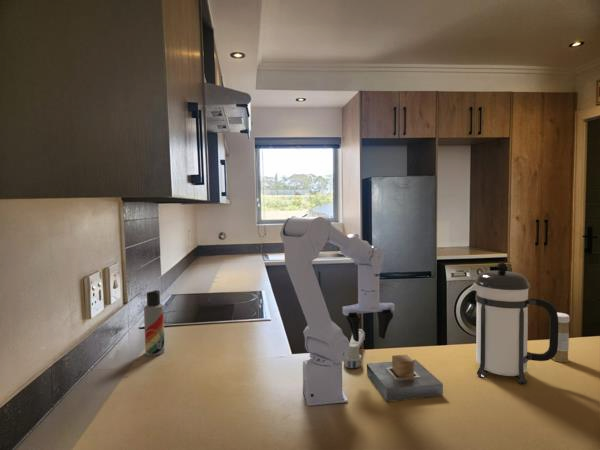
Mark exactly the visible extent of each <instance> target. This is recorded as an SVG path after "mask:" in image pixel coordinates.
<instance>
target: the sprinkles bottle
mask: <svg viewBox="0 0 600 450" xmlns="http://www.w3.org/2000/svg"><path fill="white" fill-rule="evenodd" d="M556 312H557V311H556ZM557 315H558V349H557V353H556V355H555V356H554V357H553V358H552V359H551V360H552V361H555V362H558V363H559V362H560V363H568V362H569V345H570V344H569V343H570V342H569V341H570V332H569V329H570V328H569V327H570V325H569V324H570V321H571V320H570V315H569V314H567V313H564V312H557Z"/></svg>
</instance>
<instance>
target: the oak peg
mask: <svg viewBox="0 0 600 450" xmlns="http://www.w3.org/2000/svg"><path fill="white" fill-rule="evenodd" d="M391 359H392V360H391V362H392V373H393V374H394V375H395V376H396V377H397V378H400V377H411V376H414V361H413V360H414V359H412V358H411V357H410V356H409V355H408V354H397V355H392V356H391Z"/></svg>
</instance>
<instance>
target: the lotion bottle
mask: <svg viewBox="0 0 600 450" xmlns="http://www.w3.org/2000/svg"><path fill="white" fill-rule="evenodd" d="M160 293H161V292H160V290H158V289H156V290H151V291H147V292H146V305H144V307H143V318H144V320H143V321H144V348H145V350H144V351H145V355H146V356H148V357H152V356H158V355H162V354H164V353H165V350H166V349H165V321H164V320H165V319H164V304H163V303H161V296H160V295H161V294H160Z"/></svg>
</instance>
